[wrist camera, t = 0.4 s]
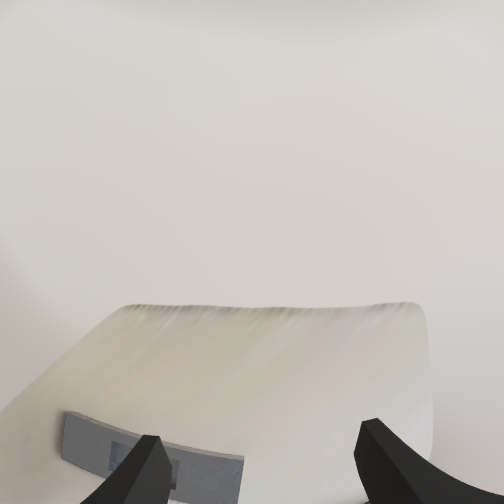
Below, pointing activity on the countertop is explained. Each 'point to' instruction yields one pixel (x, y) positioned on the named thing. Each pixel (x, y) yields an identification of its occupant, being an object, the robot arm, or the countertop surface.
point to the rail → (181, 457)
